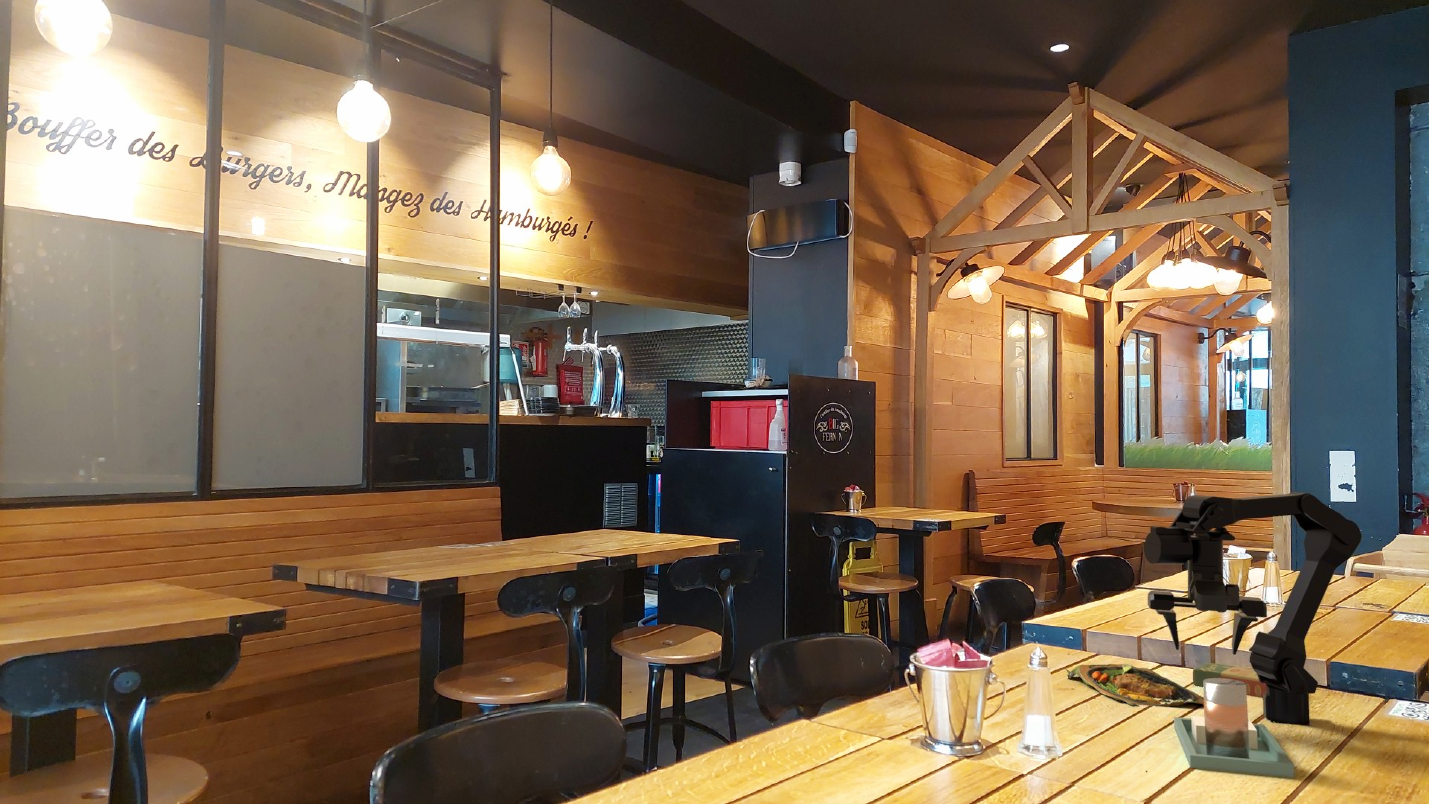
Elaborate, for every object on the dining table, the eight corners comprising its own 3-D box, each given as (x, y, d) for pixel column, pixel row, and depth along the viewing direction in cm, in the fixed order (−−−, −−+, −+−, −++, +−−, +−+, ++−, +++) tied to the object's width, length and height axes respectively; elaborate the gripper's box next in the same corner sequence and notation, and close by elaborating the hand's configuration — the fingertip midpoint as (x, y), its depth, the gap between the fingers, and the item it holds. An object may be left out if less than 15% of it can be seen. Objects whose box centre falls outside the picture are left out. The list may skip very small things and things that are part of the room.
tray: (1264, 739, 164) (1264, 724, 164) (1294, 782, 143) (1293, 765, 143) (1174, 731, 168) (1174, 717, 168) (1190, 771, 148) (1190, 755, 148)
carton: (1276, 702, 188) (1275, 680, 188) (1192, 687, 200) (1191, 667, 200) (1291, 694, 194) (1290, 673, 194) (1208, 680, 206) (1208, 660, 206)
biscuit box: (1250, 738, 162) (1250, 720, 162) (1257, 749, 156) (1257, 730, 157) (1191, 733, 165) (1191, 715, 165) (1196, 743, 159) (1196, 725, 160)
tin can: (1231, 751, 155) (1228, 676, 155) (1259, 764, 149) (1255, 686, 149) (1197, 754, 154) (1194, 679, 154) (1224, 767, 148) (1220, 688, 148)
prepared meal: (1220, 690, 184) (1133, 692, 182) (1220, 708, 184) (1133, 711, 182) (1136, 662, 212) (1060, 664, 209) (1137, 678, 212) (1060, 680, 209)
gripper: (1153, 566, 169) (1153, 655, 168) (1273, 573, 163) (1274, 666, 162) (1147, 560, 179) (1147, 644, 178) (1260, 566, 173) (1260, 653, 172)
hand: (1205, 651), depth 172 cm, fingers open, 9 cm apart
